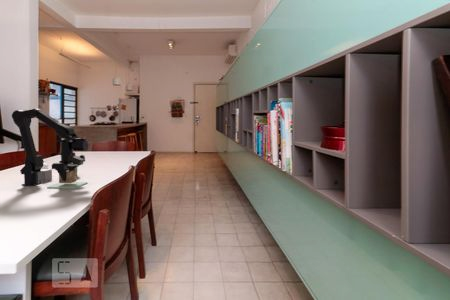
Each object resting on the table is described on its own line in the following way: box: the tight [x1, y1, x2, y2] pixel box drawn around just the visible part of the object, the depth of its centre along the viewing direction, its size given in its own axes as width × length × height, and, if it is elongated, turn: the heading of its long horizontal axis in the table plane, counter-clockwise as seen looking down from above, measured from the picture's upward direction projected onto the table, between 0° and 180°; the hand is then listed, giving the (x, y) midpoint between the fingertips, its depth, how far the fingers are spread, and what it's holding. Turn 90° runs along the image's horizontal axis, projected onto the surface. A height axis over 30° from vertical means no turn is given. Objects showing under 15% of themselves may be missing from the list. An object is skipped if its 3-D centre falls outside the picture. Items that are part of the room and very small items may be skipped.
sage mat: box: [46, 181, 88, 190], centre depth 166 cm, size 14×14×1 cm
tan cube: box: [58, 170, 77, 183], centre depth 165 cm, size 6×6×6 cm
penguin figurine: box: [41, 161, 49, 169], centre depth 190 cm, size 6×8×12 cm
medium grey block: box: [38, 168, 53, 182], centre depth 179 cm, size 6×6×6 cm
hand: (67, 180), depth 166 cm, fingers closed on tan cube, 6 cm apart
